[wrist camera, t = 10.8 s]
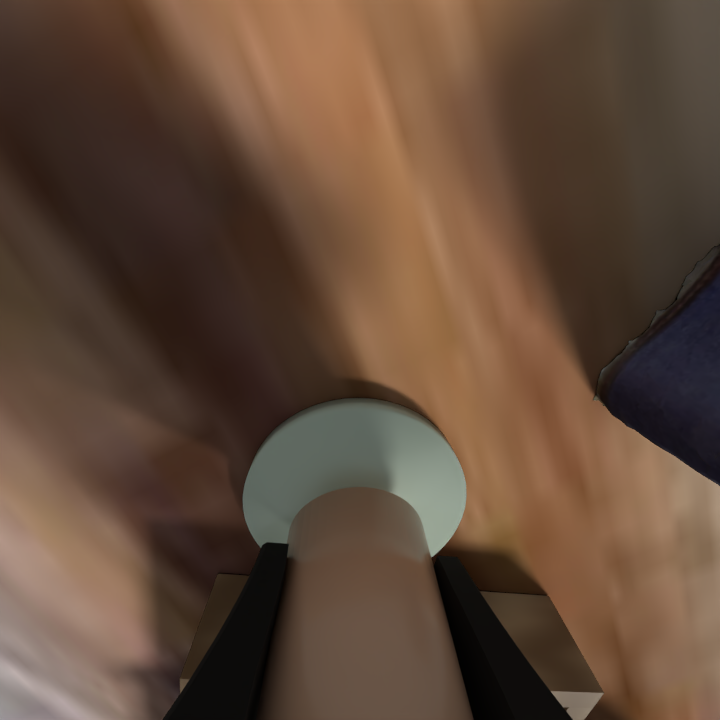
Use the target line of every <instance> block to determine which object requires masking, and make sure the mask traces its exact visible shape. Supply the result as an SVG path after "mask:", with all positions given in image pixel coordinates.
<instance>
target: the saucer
mask: <svg viewBox="0 0 720 720" xmlns="http://www.w3.org/2000/svg"><path fill="white" fill-rule="evenodd" d="M350 487H369V488H376V489H381V490H385V491H387V492H390V493H393V494H395V495H397V496H399V497H401V498H402V499H404V500H405V501H407V502H408V503H409V504H410V505H411V506H412V507H413V508H414V509H415V510H416V512H417V513H418V515H419V517H420V519H421V521H422V524H423V528H424V532H425V536H426V539H427V543H428V547H429V551H430V555H431V557H433V556H434V555H435V554H436V553H437V552H438V551H439V550H441V549H442V548H443V547H444V546H445V544H446V543H447V542H448V541H449V540H450V538H451V537H452V535H453V534H454V532H455V531H456V529H457V527H458V525H459V523H460V521H461V519H462V516H463V512H464V509H465V504H466V482H465V478H464V473H463V470H462V468H461V465H460V463H459V461H458V459H457V457H456V455H455V453H454V451H453V449H452V447H451V446H450V444H449V442H448V441H447V439H446V437H445V436H444V435H443V434H442V433H441V432H440V430H439V429H438V428H437V427H436V426H435V425H433V424H432V423H431V422H430V421H429V420H428V419H426V418H425V417H423V416H422V415H420V414H418V413H417V412H415V411H413V410H411V409H409V408H406V407H404V406H402V405H398V404H395V403H392V402H389V401H384V400H378V399H370V398H344V399H338V400H332V401H327V402H324V403H320V404H317V405H314V406H311V407H309V408H307V409H304V410H302V411H300V412H298V413H296V414H295V415H293V416H291V417H290V418H288V419H287V420H285V421H284V422H283V423H281V424H280V425H279V426H277V427H276V428H275V429H274V430H273V431H272V432H271V433H270V434H269V435H268V436H267V438H266V439H265V441H264V442H263V443H262V445H261V446H260V448H259V449H258V451H257V453H256V455H255V457H254V459H253V462H252V465H251V467H250V470H249V472H248V475H247V478H246V481H245V485H244V491H243V512H244V517H245V521H246V523H247V526H248V529H249V531H250V533H251V535H252V536H253V538H254V540H255V541H256V542H257V544H258V545H259V546H260V548H261V547H262V545H263V544H265V543H266V542H272V543H284V544H287V539H288V534H289V529H290V526H291V523H292V521H293V519H294V518H295V516H296V515H297V513H298V512H299V511H300V510H301V509H302V508H303V507H304V506H305V505H306V504H308V503H309V502H310V501H312V500H313V499H315V498H317V497H319V496H321V495H323V494H325V493H328V492H331V491H334V490H337V489H343V488H350Z"/></svg>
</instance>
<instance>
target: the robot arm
mask: <svg viewBox="0 0 720 720" xmlns="http://www.w3.org/2000/svg"><path fill="white" fill-rule="evenodd" d="M288 547H289V544H284V543H272V542H266V543H265V544H263V545H262V547H261V550H260V553H259V555H258V558H257V560H256V563H255V565H254V567H253V569H252V571H251V573H250V576H249V578H248V580H247V582H246V584H245V586H244V588H243V589H242V591H241V593H240V595H239V597H238V599H237V601H236V603H235V604H234V606H233V608H232V610H231V612H230V613H229V615H228V617H227V619H226V620H225V622H224V624H223V626H222V628H221V629H220V631H219V633H218V634H217V636H216V638H215V639H214V641H213V643H212V644H211V646H210V647H209V649H208V651H207V652H206V654H205V656H204V657H203V659H202V660H201V662H200V664H199V665H198V667H197V668H196V670H195V672H194V673H193V675H192V676H191V678H190V680H189V681H188V683H187V684H186V686H185V687H184V689H183V690H182V692H181V693H180V695H179V696H178V698H177V699H176V701H175V702H174V704H173V705H172V707H171V708H170V710H169V711H168V713H167V714H166V716H165V717H164V719H163V720H256V716H257V711H258V705H259V699H260V694H261V688H262V682H263V676H264V671H265V665H266V659H267V654H268V649H269V645H270V640H271V636H272V631H273V627H274V622H275V618H276V614H277V609H278V605H279V601H280V597H281V591H282V585H283V579H284V573H285V567H286V561H287V555H288ZM434 570H435V574H436V578H437V581H438V585H439V589H440V593H441V597H442V600H443V604H444V608H445V612H446V616H447V619H448V623H449V627H450V631H451V635H452V638H453V642H454V646H455V650H456V654H457V658H458V661H459V665H460V669H461V673H462V677H463V680H464V684H465V688H466V692H467V696H468V699H469V703H470V707H471V711H472V715H473V718H474V720H573V719H572V718H571V716H570V715H569V714H568V713H567V711H566V710H565V709H564V708H563V706H562V705H561V704H560V703H559V701H558V700H557V699H556V697H555V696H554V695H553V694H552V692H551V691H550V690H549V688H548V687H547V686H546V684H545V683H544V682H543V680H542V679H541V678H540V676H539V675H538V674H537V672H536V671H535V670H534V668H533V667H532V666H531V664H530V663H529V662H528V660H527V659H526V658H525V656H524V655H523V653H522V652H521V651H520V649H519V648H518V646H517V645H516V643H515V642H514V641H513V639H512V638H511V636H510V635H509V634H508V632H507V631H506V629H505V628H504V626H503V625H502V624H501V622H500V621H499V619H498V618H497V616H496V615H495V613H494V612H493V610H492V609H491V607H490V606H489V604H488V603H487V601H486V600H485V598H484V597H483V595H482V594H481V592H480V591H479V589H478V588H477V586H476V585H475V583H474V582H473V580H472V579H471V577H470V576H469V574H468V572H467V571H466V569H465V568H464V566H463V565H462V563H461V562H460V560H459V559H458V558H457V557H449V556H437V558H436V561H435V564H434Z"/></svg>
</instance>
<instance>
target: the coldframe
mask: <svg viewBox="0 0 720 720" xmlns="http://www.w3.org/2000/svg"><path fill="white" fill-rule="evenodd" d="M248 578H249V576H246V575H232V574H217V577H216V580H215V583H214V585H213V588H212V591H211V594H210V597H209V599H208V602H207V605H206V608H205V610H204V613H203V616H202V619H201V621H200V624H199V627H198V630H197V632H196V635H195V638H194V641H193V643H192V646H191V649H190V652H189V655H188V657H187V660H186V663H185V666H184V668H183V671H182V674H181V677H180V693H181V692H182V690H183V689H184V687H185V686H186V684H187V683H188V681H189V680H190V678H191V676H192V675H193V673H194V672H195V670H196V668H197V667H198V665H199V664H200V662H201V660H202V659H203V657H204V656H205V654H206V652H207V651H208V649H209V647H210V646H211V644H212V643H213V641H214V639H215V638H216V636H217V634H218V633H219V631H220V629H221V628H222V626H223V624H224V622H225V620H226V619H227V617H228V615H229V613H230V612H231V610H232V608H233V606H234V604H235V603H236V601H237V599H238V597H239V595H240V593H241V591H242V589H243V588H244V586H245V584H246V582H247V580H248ZM480 592H481V594H482V595H483V597H484V598H485V600H486V601H487V603H488V604H489V606H490V607H491V609H492V610H493V612H494V613H495V615H496V616H497V618H498V619H499V621H500V622H501V624H502V625H503V626H504V628H505V629H506V631H507V632H508V634H509V635H510V636H511V638H512V639H513V641H514V642H515V643H516V645H517V646H518V648H519V649H520V651H521V652H522V653H523V655H524V656H525V658H526V659H527V660H528V662H529V663H530V664H531V666H532V667H533V668H534V670H535V671H536V672H537V674H538V675H539V676H540V678H541V679H542V680H543V682H544V683H545V684H546V686H547V687H548V688H549V690H550V691H551V692H552V694H553V695H554V696H555V697H556V699H557V700H558V701H559V703H560V704H561V705H562V706H563V708H564V709H565V710H566V711H567V713H568V714H569V715H570V716H571V718H572V719H573V720H584V719H585V718H586V717H587V715H588V714H589V713H590V711H591V710H592V709H593V707H594V706H595V705H596V703H597V702H598V700H599V699H600V698H601V696H602V695H603V694H604V692H603V690H602V688H601V687H600V685H599V683H598V681H597V680H596V678H595V676H594V674H593V673H592V671H591V669H590V667H589V666H588V664H587V662H586V660H585V659H584V657H583V655H582V653H581V652H580V650H579V648H578V646H577V645H576V643H575V641H574V639H573V638H572V636H571V634H570V632H569V631H568V629H567V627H566V625H565V624H564V622H563V620H562V618H561V617H560V615H559V613H558V611H557V610H556V608H555V606H554V604H553V603H552V601H551V599H550V597H549V596H543V595H528V594H513V593H498V592H483V591H480Z"/></svg>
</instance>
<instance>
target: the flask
mask: <svg viewBox="0 0 720 720" xmlns="http://www.w3.org/2000/svg"><path fill="white" fill-rule="evenodd" d="M682 285H683V286H684V287H683V288H681V290H680V293H679V295H678V297H677V299H678V300H677V301H675V302H674V304H673V305H671V306H670V307H669V308H668V309H667V310H658V311H656V316H655V317H654V318H653V321H652V323H651V325H650V328H648V329H647V330H646V331H645V333H644V334H643V335H641V336H639V337H637V338H636V339H634V340H632V341H631V340H630V341H628V342H629V345H627V346H626V349H624V350H623V353H621V354H620V355H618V356H617V357H616V358H615V359H614V360H613V361H612V362H611V363H610V364H609V365H608V366H606V367H604V368H603V369H602V371H601V373H600V378H599V379H598V387H597V394H596V396H595V398H594V400H599V401H600V402H601V403H602V404H603V406H606V408H607V409H608V410H609V411H610V413H611V414H612V415H613V416H615V417H616V418H618V419H619V420H621V421H622V422H623V423H624V424H625V425H626V426H628V427H630V428H632V429H634V430H636V431H637V432H639V433H640V434H641V435H643V436H644V437H645V438H647V439H648V440H650V441H651V442H652V443H654V444H655V445H657V446H659V447H660V448H662V449H664V450H665V451H667V452H669V453H671V454H672V455H674V456H676V457H677V458H678V459H680V460H681V461H683V462H684V463H685V464H687V465H688V466H690V467H691V468H693V469H694V470H695V471H697V472H699V473H700V474H702V475H703V476H705V477H707V478H708V479H710V480H712V481H713V482H715V483H716V484H718V485H719V486H720V246H715V247H714V248H713V249H712V250H711V251H710V252H709V253H708V255H707V256H706V257H705V258H704V259H703V260H701V261H699V262H697V264H696V267H695V268H694V270H693V271H692V272H691V273H690V274H689V275H687V276H686V279H685V282H684V283H683V284H682Z"/></svg>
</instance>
